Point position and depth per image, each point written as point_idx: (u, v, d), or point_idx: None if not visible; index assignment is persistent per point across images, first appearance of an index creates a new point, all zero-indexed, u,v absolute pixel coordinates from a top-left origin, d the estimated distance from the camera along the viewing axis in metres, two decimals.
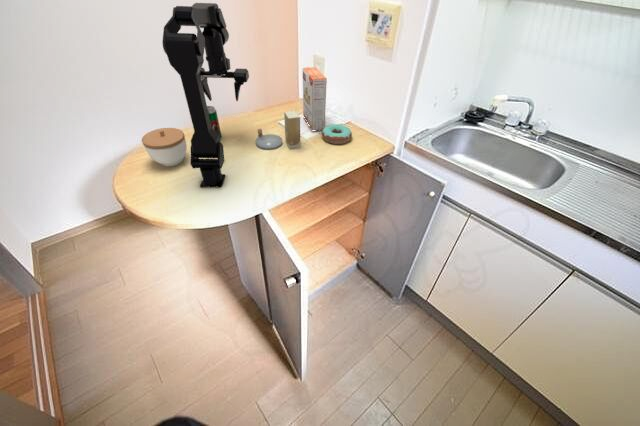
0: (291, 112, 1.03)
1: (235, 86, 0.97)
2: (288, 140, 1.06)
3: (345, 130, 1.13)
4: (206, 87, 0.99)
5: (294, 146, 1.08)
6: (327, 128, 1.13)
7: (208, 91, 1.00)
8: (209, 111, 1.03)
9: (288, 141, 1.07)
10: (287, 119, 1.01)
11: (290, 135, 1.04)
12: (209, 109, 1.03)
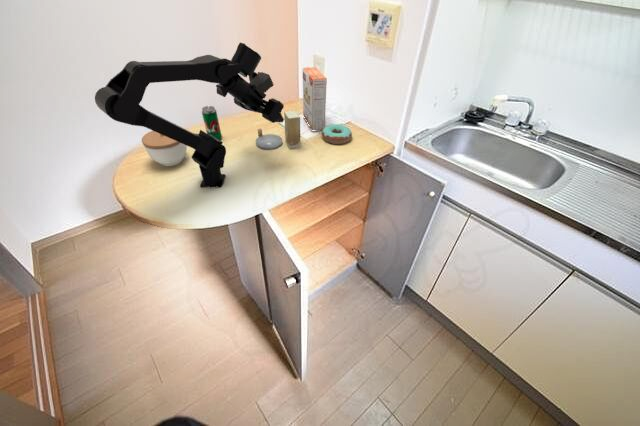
0: (291, 112, 1.03)
1: None
2: (288, 140, 1.06)
3: (345, 130, 1.13)
4: None
5: (294, 146, 1.08)
6: (327, 128, 1.13)
7: (258, 108, 0.97)
8: (209, 111, 1.03)
9: (288, 141, 1.07)
10: (287, 119, 1.01)
11: (290, 135, 1.04)
12: (209, 109, 1.03)
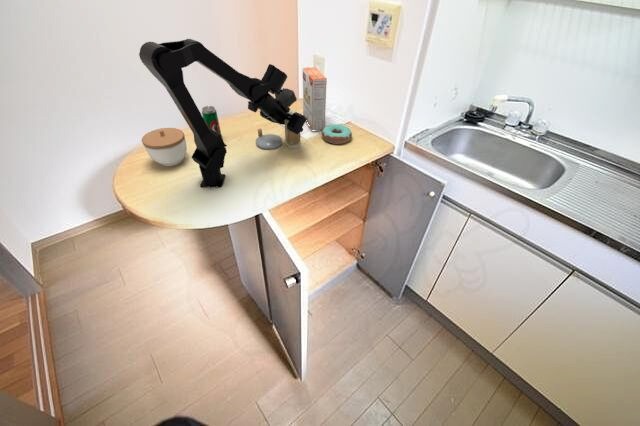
0: (291, 112, 1.03)
1: None
2: (288, 140, 1.06)
3: (345, 130, 1.13)
4: None
5: (294, 146, 1.08)
6: (327, 128, 1.13)
7: None
8: (209, 111, 1.03)
9: (288, 141, 1.07)
10: None
11: (290, 135, 1.04)
12: (209, 109, 1.03)
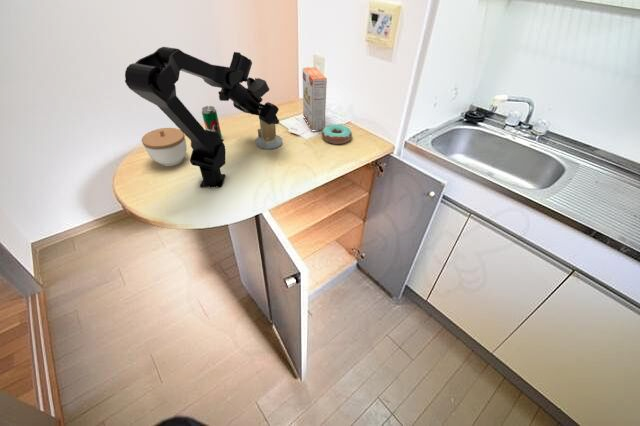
0: None
1: None
2: (264, 136, 1.05)
3: (345, 130, 1.13)
4: None
5: (270, 142, 1.07)
6: (327, 128, 1.13)
7: (255, 111, 1.05)
8: (209, 111, 1.03)
9: (264, 137, 1.06)
10: None
11: (265, 131, 1.03)
12: (209, 109, 1.03)
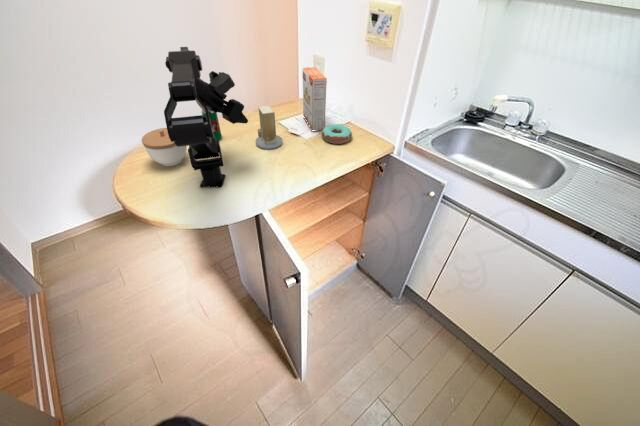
0: (265, 107, 1.02)
1: None
2: (264, 136, 1.05)
3: (345, 130, 1.13)
4: None
5: (270, 142, 1.07)
6: (327, 128, 1.13)
7: (222, 109, 0.95)
8: (209, 111, 1.03)
9: (264, 137, 1.06)
10: (261, 114, 1.01)
11: (265, 131, 1.03)
12: None
